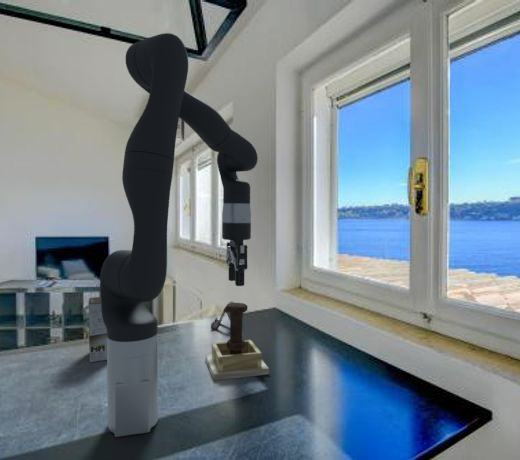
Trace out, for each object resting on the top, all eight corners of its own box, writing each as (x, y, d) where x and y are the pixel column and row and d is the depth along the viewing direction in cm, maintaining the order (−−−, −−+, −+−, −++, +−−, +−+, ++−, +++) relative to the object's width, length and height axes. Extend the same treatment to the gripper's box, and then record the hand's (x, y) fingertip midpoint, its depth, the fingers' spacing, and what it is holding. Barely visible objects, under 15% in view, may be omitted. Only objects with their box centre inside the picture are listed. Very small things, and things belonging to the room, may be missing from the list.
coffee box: (114, 359, 108) (113, 301, 108) (89, 362, 106) (88, 303, 105) (112, 348, 117) (112, 295, 116) (89, 351, 114) (88, 297, 113)
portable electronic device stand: (216, 323, 145) (216, 300, 145) (237, 324, 144) (237, 301, 144) (210, 330, 136) (210, 306, 136) (233, 331, 135) (233, 307, 135)
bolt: (250, 361, 103) (251, 305, 102) (235, 366, 99) (237, 308, 99) (235, 355, 107) (236, 301, 107) (221, 360, 103) (222, 304, 103)
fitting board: (268, 374, 99) (268, 354, 98) (213, 380, 95) (213, 360, 95) (254, 354, 112) (254, 337, 112) (205, 359, 108) (205, 341, 108)
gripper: (257, 221, 96) (257, 287, 97) (244, 221, 110) (243, 278, 111) (227, 221, 94) (227, 288, 95) (217, 220, 108) (217, 279, 108)
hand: (236, 283), depth 103 cm, fingers open, 8 cm apart
